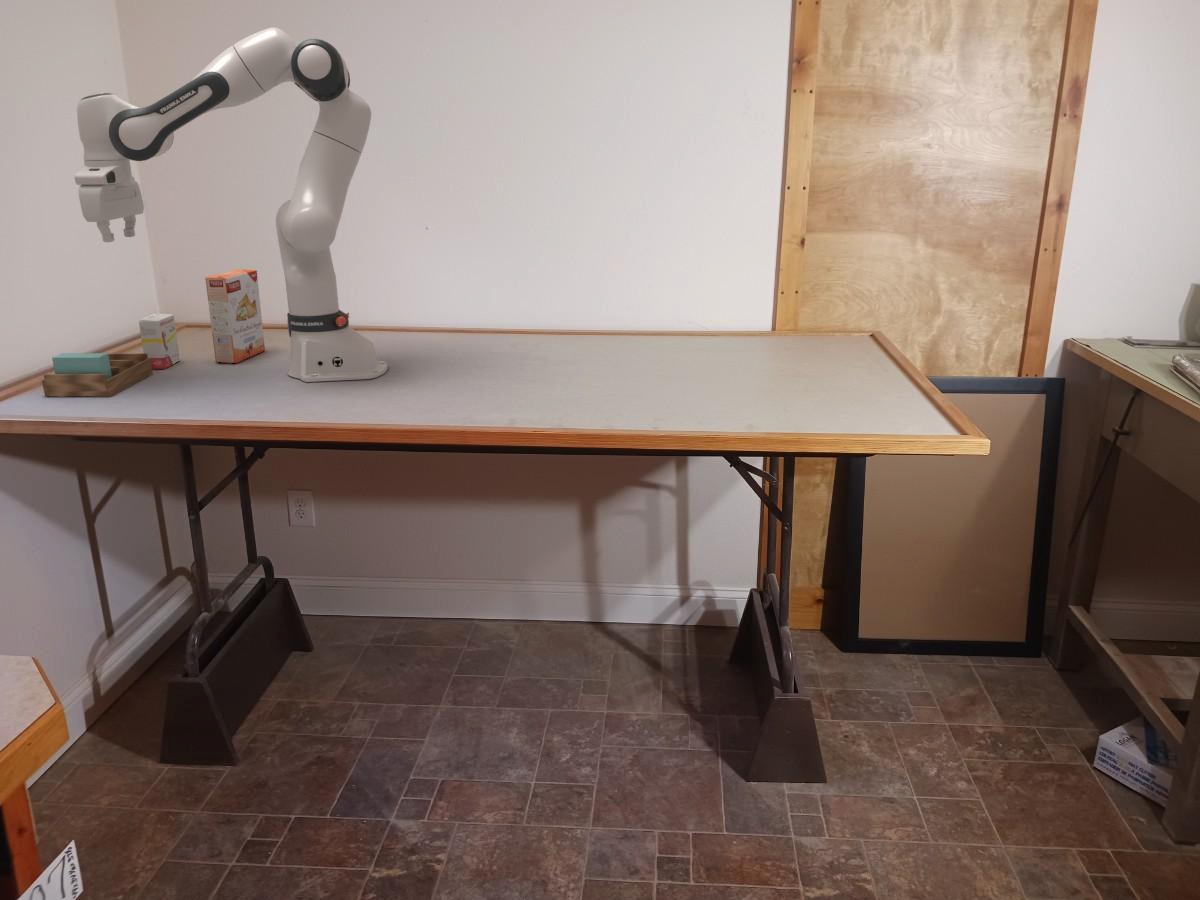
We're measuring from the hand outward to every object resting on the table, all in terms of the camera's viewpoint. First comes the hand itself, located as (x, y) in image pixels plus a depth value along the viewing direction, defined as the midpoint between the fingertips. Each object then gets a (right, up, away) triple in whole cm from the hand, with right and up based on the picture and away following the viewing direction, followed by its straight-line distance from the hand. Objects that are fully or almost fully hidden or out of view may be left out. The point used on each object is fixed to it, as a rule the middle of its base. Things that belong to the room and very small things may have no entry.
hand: (119, 239), depth 214 cm
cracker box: (+17, -23, +28) cm, 40 cm away
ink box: (0, -26, +21) cm, 33 cm away
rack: (-6, -32, +4) cm, 32 cm away
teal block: (-6, -33, -3) cm, 33 cm away
